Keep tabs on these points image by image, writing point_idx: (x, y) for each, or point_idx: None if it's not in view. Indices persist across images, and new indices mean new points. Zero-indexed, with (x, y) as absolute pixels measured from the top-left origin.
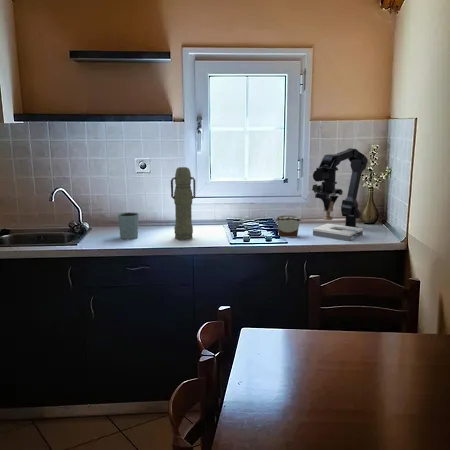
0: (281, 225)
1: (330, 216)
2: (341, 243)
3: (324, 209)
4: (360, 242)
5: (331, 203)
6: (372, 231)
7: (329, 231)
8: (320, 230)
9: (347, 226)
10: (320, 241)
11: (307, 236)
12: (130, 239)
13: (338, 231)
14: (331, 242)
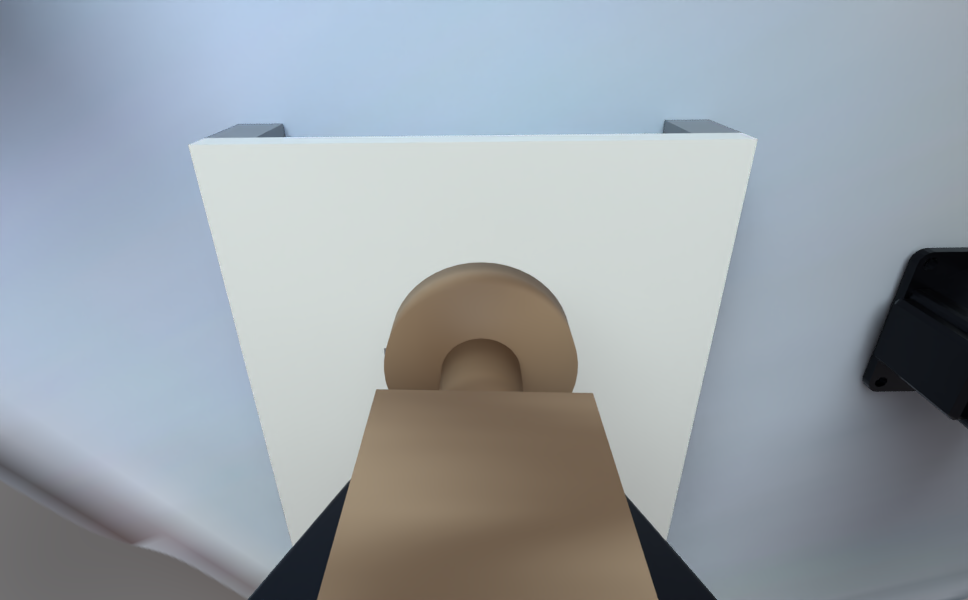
0: None
1: (554, 389)
2: (186, 516)
3: (367, 454)
4: None
5: None
6: (849, 527)
7: (258, 400)
8: (230, 273)
9: (673, 452)
10: (60, 353)
11: (113, 93)
12: None
13: (322, 484)
14: (134, 446)
